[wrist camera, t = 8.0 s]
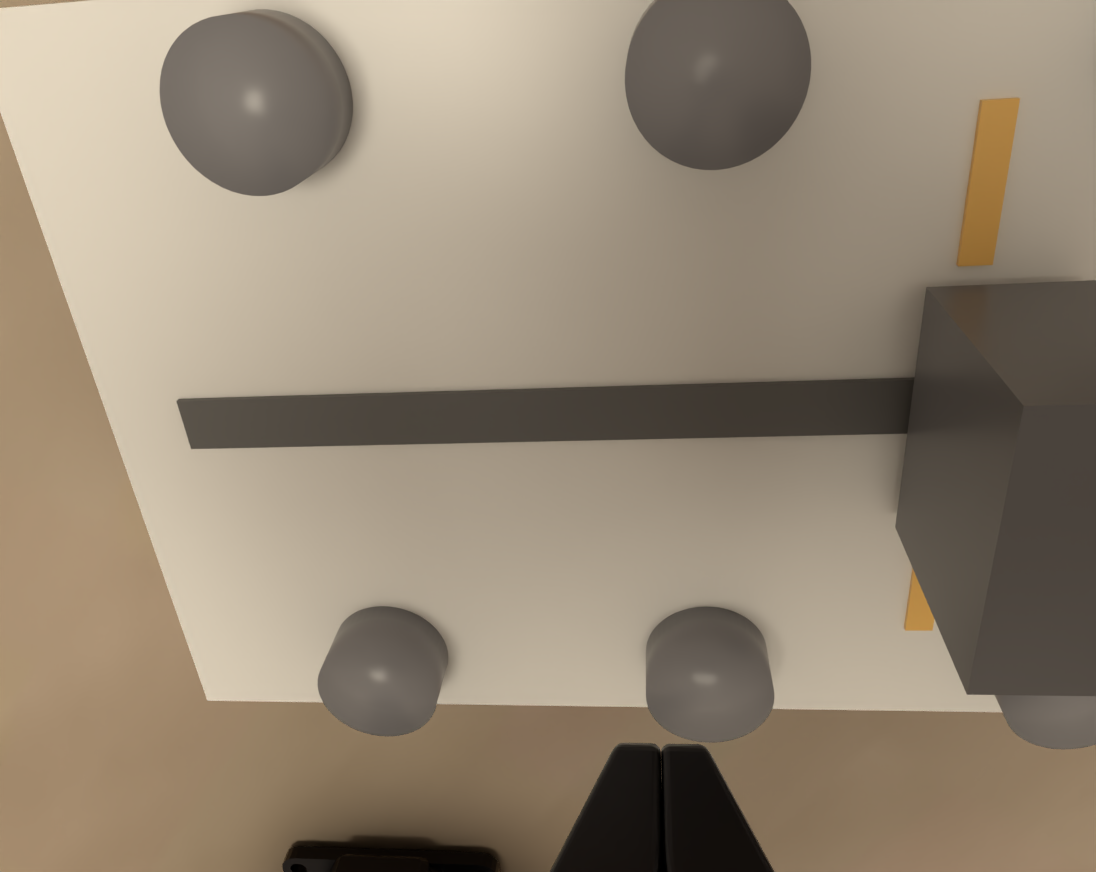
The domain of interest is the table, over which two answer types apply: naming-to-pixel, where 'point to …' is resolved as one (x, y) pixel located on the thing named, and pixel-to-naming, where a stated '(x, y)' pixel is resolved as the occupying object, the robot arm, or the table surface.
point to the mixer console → (546, 329)
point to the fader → (1006, 483)
